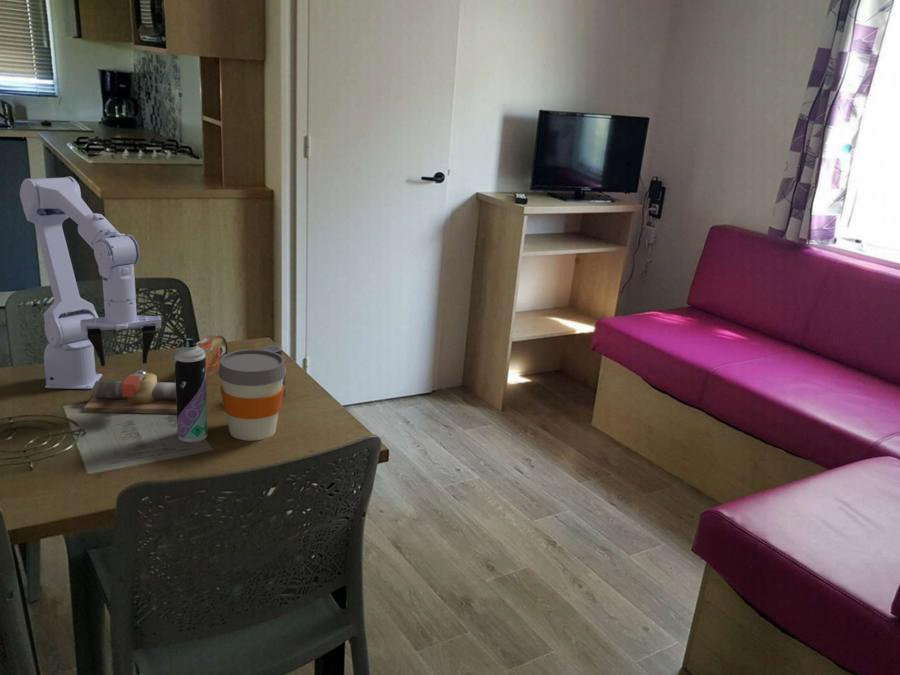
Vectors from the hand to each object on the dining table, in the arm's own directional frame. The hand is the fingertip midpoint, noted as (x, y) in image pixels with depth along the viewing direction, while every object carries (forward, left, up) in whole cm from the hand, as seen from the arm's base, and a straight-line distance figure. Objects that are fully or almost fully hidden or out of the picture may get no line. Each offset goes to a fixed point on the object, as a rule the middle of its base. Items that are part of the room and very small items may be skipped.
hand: (124, 362), depth 153 cm
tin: (+12, +21, -11) cm, 26 cm away
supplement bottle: (+28, +9, -11) cm, 31 cm away
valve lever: (+2, -1, -5) cm, 5 cm away
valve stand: (+2, +4, -10) cm, 11 cm away
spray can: (+15, -11, -10) cm, 22 cm away
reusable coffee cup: (+26, -8, -11) cm, 29 cm away
